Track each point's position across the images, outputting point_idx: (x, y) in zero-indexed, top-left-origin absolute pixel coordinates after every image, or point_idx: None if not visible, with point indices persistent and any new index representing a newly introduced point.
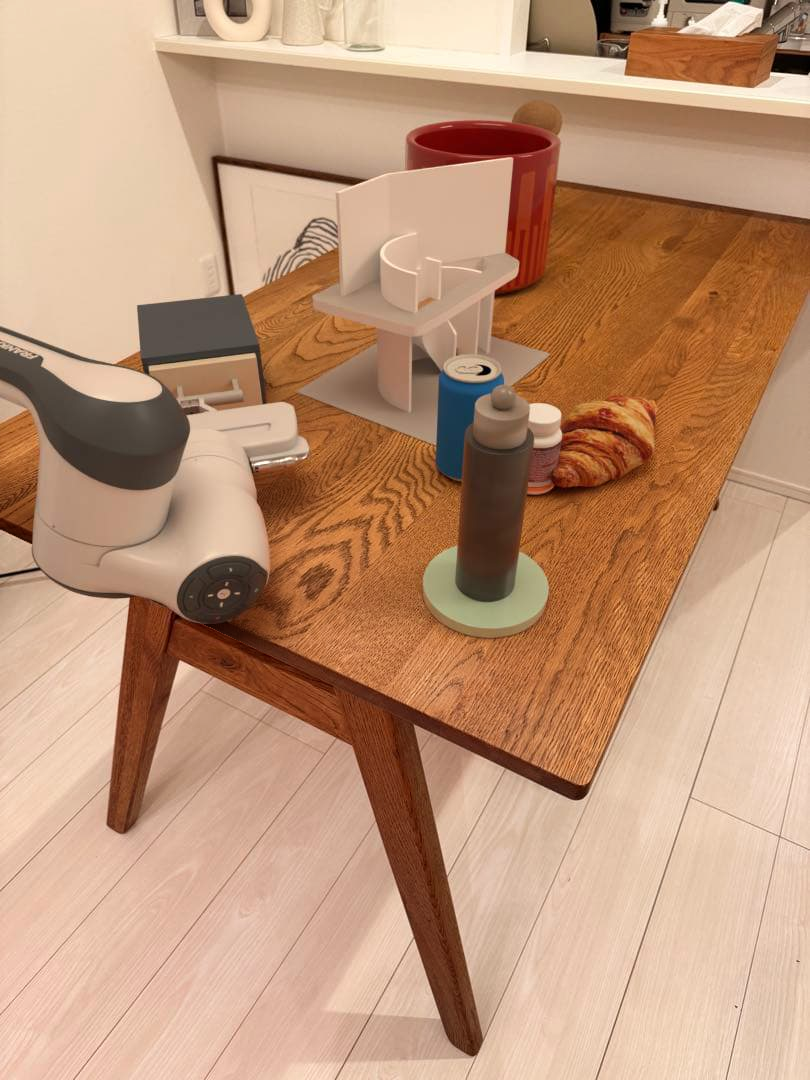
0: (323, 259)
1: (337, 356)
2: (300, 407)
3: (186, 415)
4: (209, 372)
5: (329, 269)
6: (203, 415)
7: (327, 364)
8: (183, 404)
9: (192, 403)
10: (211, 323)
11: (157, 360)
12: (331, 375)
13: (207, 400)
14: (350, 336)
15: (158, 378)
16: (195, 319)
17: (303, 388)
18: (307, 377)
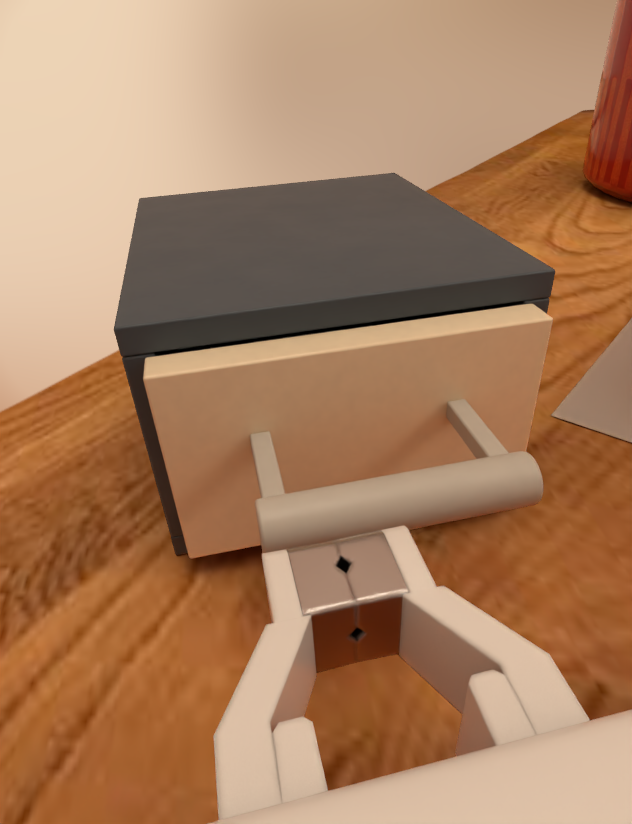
0: (441, 184)
1: (587, 322)
2: (602, 470)
3: (389, 792)
4: (376, 378)
5: (458, 193)
6: (551, 816)
7: (579, 341)
8: (311, 582)
9: (360, 573)
10: (347, 223)
11: (179, 335)
12: (613, 368)
13: (395, 511)
14: (580, 283)
15: (181, 406)
16: (296, 217)
17: (567, 405)
18: (554, 374)
